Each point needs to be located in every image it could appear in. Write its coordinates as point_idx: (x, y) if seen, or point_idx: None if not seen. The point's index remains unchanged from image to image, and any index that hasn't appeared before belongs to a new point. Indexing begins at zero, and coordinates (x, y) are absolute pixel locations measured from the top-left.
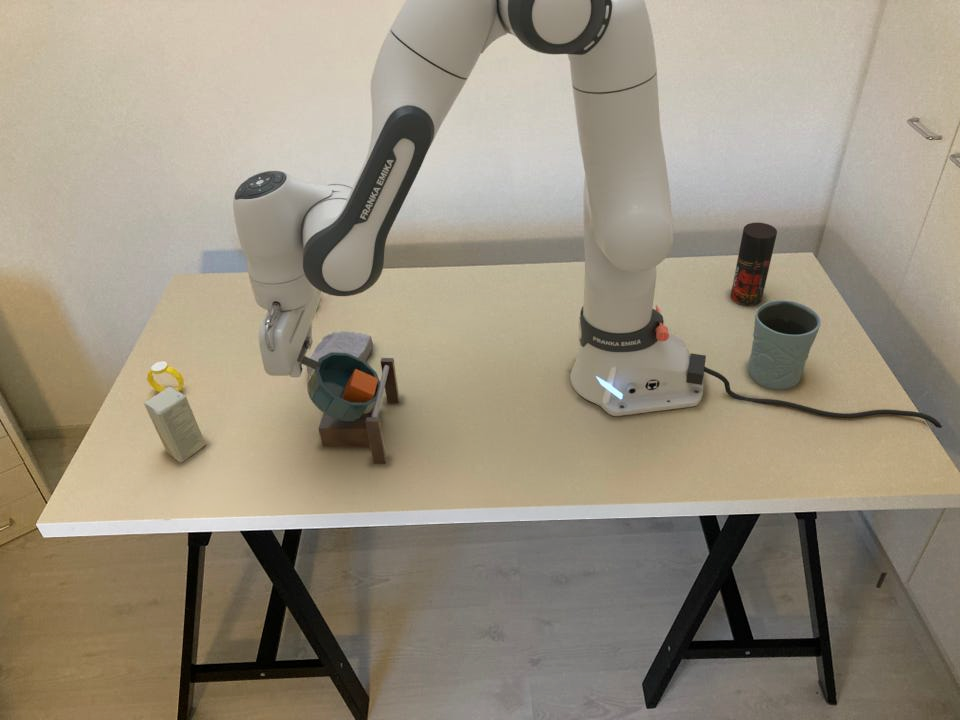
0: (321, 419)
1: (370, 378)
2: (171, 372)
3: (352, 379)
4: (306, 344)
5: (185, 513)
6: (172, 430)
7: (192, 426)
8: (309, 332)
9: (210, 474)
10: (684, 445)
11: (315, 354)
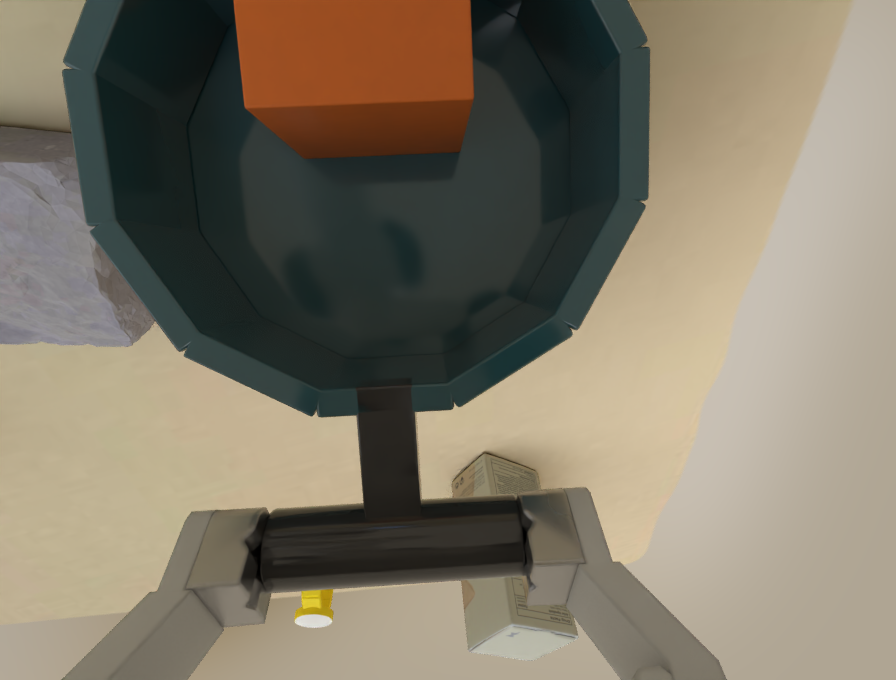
0: None
1: None
2: (317, 595)
3: (394, 100)
4: (255, 551)
5: (692, 423)
6: None
7: None
8: (162, 629)
9: (580, 418)
10: None
11: (43, 333)
